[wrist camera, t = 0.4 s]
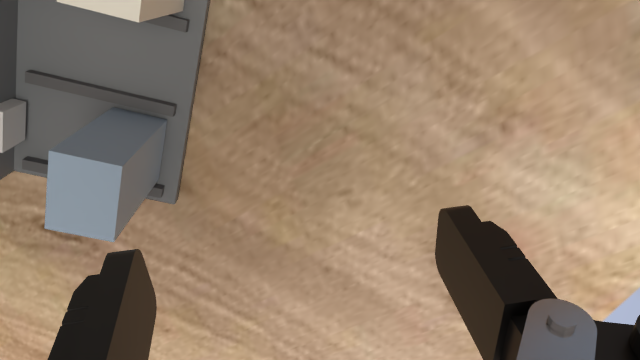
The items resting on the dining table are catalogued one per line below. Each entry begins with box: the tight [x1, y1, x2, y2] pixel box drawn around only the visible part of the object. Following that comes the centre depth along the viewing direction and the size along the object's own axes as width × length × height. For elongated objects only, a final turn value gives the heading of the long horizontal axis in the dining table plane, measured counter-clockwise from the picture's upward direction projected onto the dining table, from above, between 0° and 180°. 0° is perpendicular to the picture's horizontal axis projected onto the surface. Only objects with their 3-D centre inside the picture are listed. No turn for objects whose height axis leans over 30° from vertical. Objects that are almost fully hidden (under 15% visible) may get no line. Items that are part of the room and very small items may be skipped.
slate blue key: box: [45, 107, 167, 242], centre depth 33 cm, size 5×4×10 cm
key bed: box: [0, 0, 210, 204], centre depth 33 cm, size 22×14×5 cm, turn 166°
